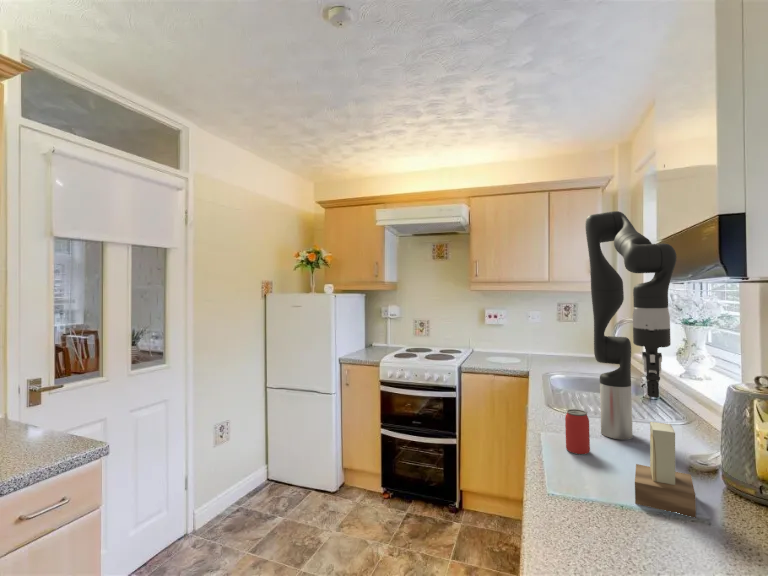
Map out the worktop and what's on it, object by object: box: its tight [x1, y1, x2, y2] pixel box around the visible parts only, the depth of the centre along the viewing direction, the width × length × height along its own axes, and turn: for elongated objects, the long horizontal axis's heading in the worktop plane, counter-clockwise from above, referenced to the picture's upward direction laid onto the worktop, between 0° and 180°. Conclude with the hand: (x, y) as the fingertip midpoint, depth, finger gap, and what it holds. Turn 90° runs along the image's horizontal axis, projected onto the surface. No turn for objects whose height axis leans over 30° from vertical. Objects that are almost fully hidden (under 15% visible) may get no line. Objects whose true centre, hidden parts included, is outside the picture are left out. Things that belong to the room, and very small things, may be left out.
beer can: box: [564, 408, 591, 456], centre depth 120 cm, size 7×7×12 cm
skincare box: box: [649, 421, 676, 485], centre depth 92 cm, size 6×4×12 cm
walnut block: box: [634, 463, 697, 519], centre depth 92 cm, size 11×11×5 cm
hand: (652, 392), depth 96 cm, fingers open, 8 cm apart
